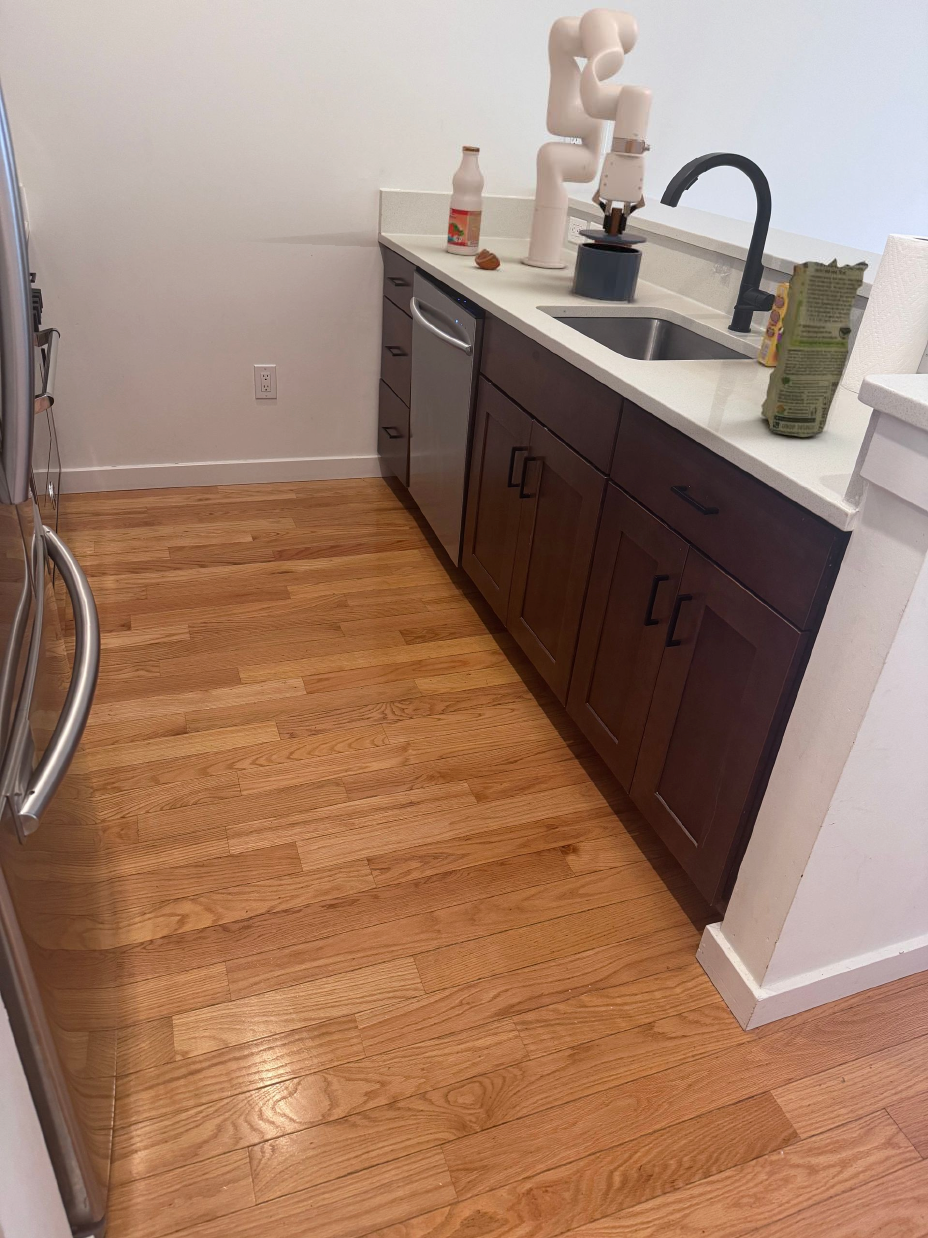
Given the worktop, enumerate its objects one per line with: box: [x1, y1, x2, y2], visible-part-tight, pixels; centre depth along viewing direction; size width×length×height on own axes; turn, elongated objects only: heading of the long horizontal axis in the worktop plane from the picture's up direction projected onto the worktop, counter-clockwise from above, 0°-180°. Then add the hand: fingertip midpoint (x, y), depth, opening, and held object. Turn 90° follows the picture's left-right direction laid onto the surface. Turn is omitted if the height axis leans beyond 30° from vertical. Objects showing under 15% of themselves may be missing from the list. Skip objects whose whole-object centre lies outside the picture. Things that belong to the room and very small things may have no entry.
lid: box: [578, 206, 648, 246], centre depth 212 cm, size 17×17×7 cm
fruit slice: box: [474, 248, 501, 271], centre depth 237 cm, size 8×7×5 cm
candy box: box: [757, 281, 789, 367], centre depth 171 cm, size 9×4×15 cm, turn 103°
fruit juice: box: [446, 145, 485, 256], centre depth 254 cm, size 9×9×28 cm
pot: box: [571, 241, 643, 304], centre depth 218 cm, size 16×16×12 cm
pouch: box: [760, 257, 870, 438], centre depth 132 cm, size 11×12×25 cm
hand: (613, 232), depth 213 cm, fingers closed on lid, 2 cm apart
